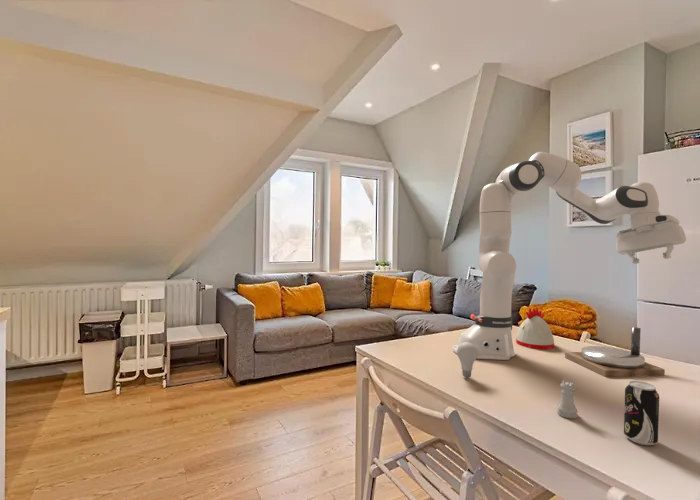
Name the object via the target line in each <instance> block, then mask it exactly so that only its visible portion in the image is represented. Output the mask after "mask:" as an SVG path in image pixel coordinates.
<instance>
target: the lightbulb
mask: <svg viewBox="0 0 700 500" xmlns="http://www.w3.org/2000/svg"><path fill="white" fill-rule="evenodd" d="M456 355H457V357H458V359H459V362H460V364H461V365H460V366H461V370H462V371H461V372H462V376H463V377H464V378H465V379H469V378H470V377H472V370H473V366H474V364H475V361H476V358H477V355H478V351H477V348H476V347H475V346H474V345H473V344H472V343H469V342H464V343H461V344H460V345H459V346H458V348H457V354H456Z"/></svg>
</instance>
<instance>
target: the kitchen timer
mask: <svg viewBox="0 0 700 500" xmlns="http://www.w3.org/2000/svg"><path fill="white" fill-rule="evenodd" d="M525 313H526V317H527V318H525V319H524V321H523V322H522V323H521V324H520V325H519V326H518V331H517V333H516V338H515V341H516V345H519V346H521V347H524V348H529V349H534V350H535V349H536V350H552V349H553V348H554V347H555V339H554V336H553V333H552V329H551V328H550V326H549V324H548V323H547V322H546V321H545V320H544V316H545V313H544V312H543V313H542V310H539V308H538V307H536V308H534V307H533V308H529V309H528V311H525Z"/></svg>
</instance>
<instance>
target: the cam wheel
mask: <svg viewBox="0 0 700 500" xmlns="http://www.w3.org/2000/svg"><path fill="white" fill-rule="evenodd" d="M641 332H642V331H641V327H638V326H637V327H636V326H632V327H631V335H630V336H631V338H630V350H626V349H622V348H619V347H617V348H616V347H611V346H610V347H609V346H599V345H598V346H597V345H589V346H588V345H587V346H584V347H582V348H580V352H581V356H582V357H583V358H585V359H587V360H589V361H592V362H595V363H598V364H602V365H607V366H612V367H620V368H641V367H643V366H644V365H645V362H646V358H645V355H641V353H640V352H641Z"/></svg>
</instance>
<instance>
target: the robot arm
mask: <svg viewBox="0 0 700 500" xmlns="http://www.w3.org/2000/svg"><path fill="white" fill-rule="evenodd" d="M582 174H583V173H582V170H581V167H580V166H579V164H577V163H576V162H574V161H571V160H570V159H567V158H565V157H562V156H560V155H557V154H554V153H550V152H545V151H537V152H534V153H533V154H532V155H531V156H530V157H529V159H528V160H522V161H519V162H516V163H513V164H511V165H509V166H507V167H506V168H504V169H502V170H500V172H498V174H497V175H496V177H495V178H494V179H495V180H494V181H493V182H491V183H487V184H486V185H484V186H483V188H482V190H481V192H480V199H479V245H478V267H479V269H480V271H481V272H482V279H481V280H482V281H481V288H480V294H479V313H478V314H477V315H476V314H474V313H471V314H470V316H469V317H470V319H471V320H472V321H474V324H472V325H471V326H469V327H468V328H466V329H465V330H464V331H462V332H461V334H460V335H459V339H458V342H457V343H458V344H453V345H452V351H453V352H454V353H455V354H456V355H457V348H458V346H459V345H460V344H461V343H464V342H469V343H472V344H473V345H474V346H475V347H476V348H477V351H478V355H477V358H476V359H479V360H480V359H481V360H499V361H500V360H503V361H508V360H510V359H511V358H512V357H515V355H516V352H515V349H514V343H513V334H512V330H513V316H512V299H513V297H512V295H513V289H514V283H515V277H516V276H515V275H516V269H517V261H516V260H515V258H514V256H513V255H512V254H511V253H510V244H511V243H510V242H511V237H512V208H511V206H512V205H511V203H512V199H513V196H514V195H519V194H522V193H525V192H528V191H531V190H533V188H535V187H536V186H537V185H538V184H539V183H541V184H543V185H545V186H547V187H550V188H552V189H553V190H555V192H556V195H557V196H558V197H559V198H560V199H561V200H563V201H565V202H566V203H568V204H569V205H572V206H573V207H574V208H576V209H577V210H579V211H580V212H583V213H585V214H586V215H587V216H588V217H589V218H590V219H591V220H593V221H594V222H596V223H598V224H600V225H607V224H611V222H614V221H615V220H617V219H618V218H621V217H623V216H624V215H629V216H630V218H629V220H630V226H631V227H630V228H627V229H625V230H620V231H619V232H617V233H616V235H615V241H616V243H615V246H616V247H615V248H616V249H615V251H616V252H617V254H620V255H627V256H628V257H630V259H631V261H632V264H633V265H637V264H640V259H639V258H638V257H635V255H636V253H640V252H644V251H645V252H646V251H651V250H655V249H661V248H666V250H665V252H662V255H663V256H662V257H663V259H667V260H668V259H670V258H671V257H672V256H671V253H672V252H673V251H674V248H675V247H674V246H677V245H682V244H685V242H686V240H687V237H686V233H685V230H684V228H683V227H682V226H681V225H680V220H679V219H678V218H676V217H675V216H672V215H670V214H661V212H660V211H659V208H660V201H659V197H658V193H657V190H656V188H655V186H654V185H653V184H652V183H650V182H646V181H640V182H634V183H633V184H631V185H621V186H619V187H617V188H616V189H615V188H614V189H613V190H612V191H610V192H608V193H607V194H605V195H603V196H602V197H599V198H593V197H591V196H589V195H587V194H586V193H585V192H583V191H581V190H579V189H578V187H579V185H580V183H581V180H582Z"/></svg>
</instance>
